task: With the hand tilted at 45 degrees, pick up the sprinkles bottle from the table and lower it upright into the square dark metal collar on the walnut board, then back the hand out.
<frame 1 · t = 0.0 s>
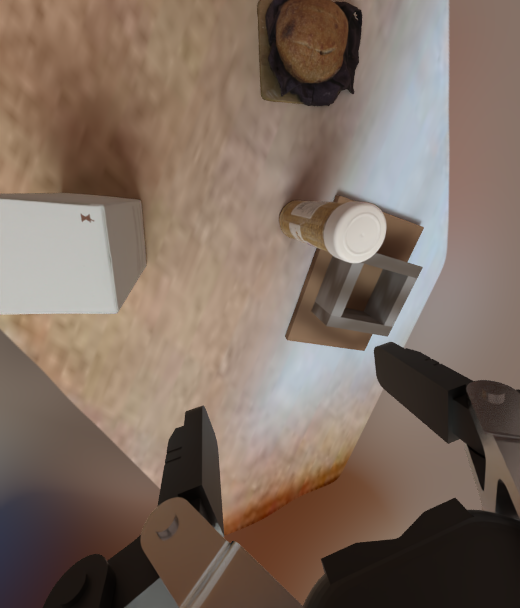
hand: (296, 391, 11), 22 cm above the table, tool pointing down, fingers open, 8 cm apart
collar board: (350, 282, 36), on the table
supplement box: (108, 232, 27), on the table
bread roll: (306, 58, 26), on the table
sprinkles bottle: (295, 219, 31), on the table
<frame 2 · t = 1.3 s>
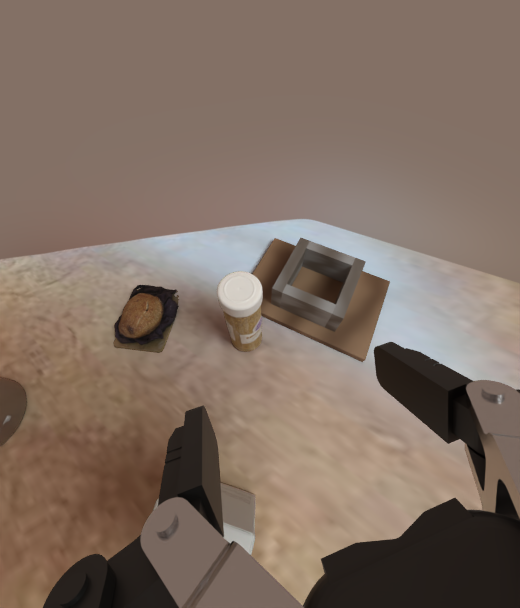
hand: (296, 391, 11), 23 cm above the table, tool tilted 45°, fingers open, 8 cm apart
collar board: (313, 294, 40), on the table
supplement box: (215, 523, 27), on the table
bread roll: (150, 319, 39), on the table
sprinkles bottle: (246, 337, 37), on the table
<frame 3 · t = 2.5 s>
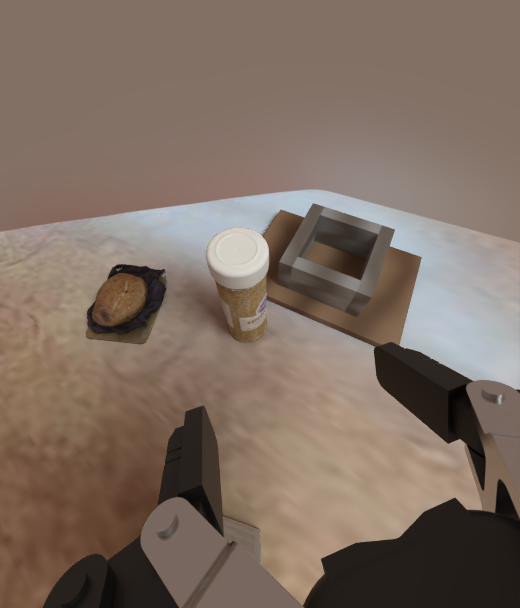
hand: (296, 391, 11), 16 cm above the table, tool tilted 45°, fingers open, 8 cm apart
collar board: (328, 273, 33), on the table
supplement box: (207, 570, 20), on the table
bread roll: (132, 304, 32), on the table
sprinkles bottle: (247, 325, 30), on the table
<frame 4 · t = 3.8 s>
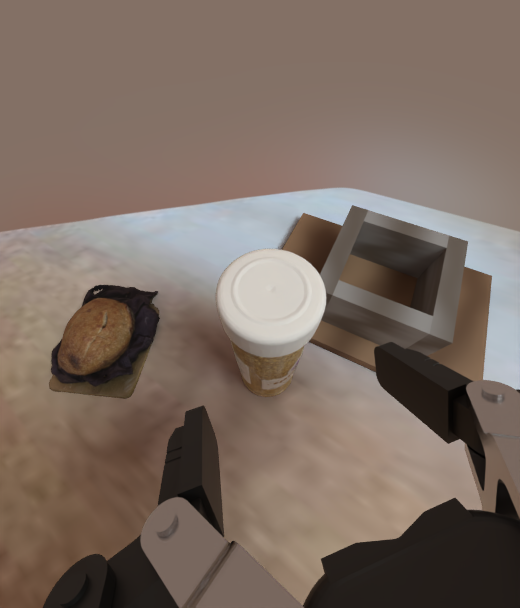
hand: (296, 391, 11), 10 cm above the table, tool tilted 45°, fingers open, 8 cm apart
collar board: (369, 297, 25), on the table
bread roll: (115, 339, 24), on the table
sprinkles bottle: (266, 370, 22), on the table
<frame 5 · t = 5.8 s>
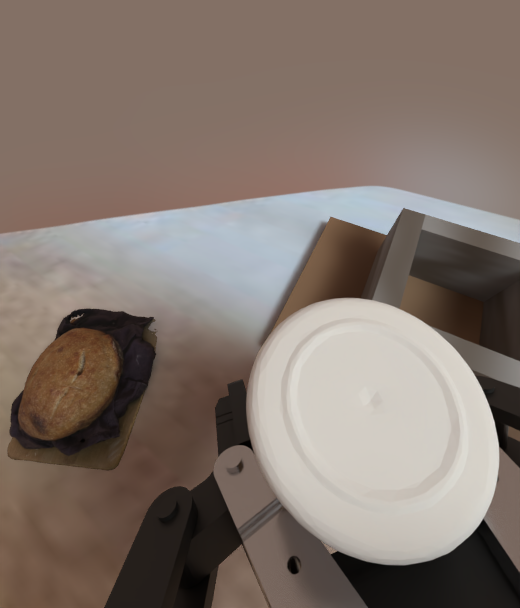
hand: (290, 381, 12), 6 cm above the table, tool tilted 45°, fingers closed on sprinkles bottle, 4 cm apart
collar board: (420, 326, 20), on the table
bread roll: (99, 381, 19), on the table
sprinkles bottle: (292, 428, 16), on the table, touching gripper
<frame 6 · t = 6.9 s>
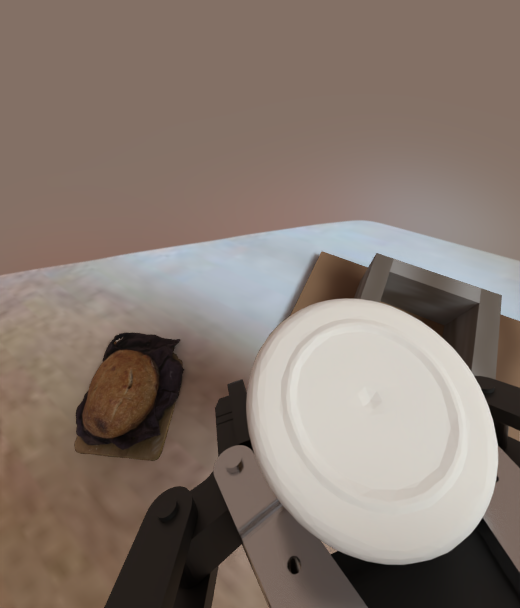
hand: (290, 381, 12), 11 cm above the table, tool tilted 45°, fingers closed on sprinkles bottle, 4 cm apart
collar board: (393, 345, 24), on the table
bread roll: (138, 391, 24), on the table
sprinkles bottle: (292, 428, 17), point 5 cm above the table, touching gripper
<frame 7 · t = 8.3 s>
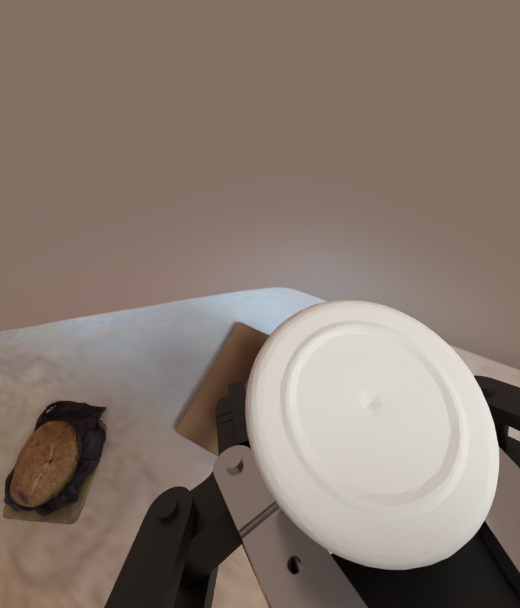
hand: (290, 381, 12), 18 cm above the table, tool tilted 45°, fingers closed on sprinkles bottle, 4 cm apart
collar board: (288, 412, 28), on the table
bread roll: (66, 457, 27), on the table
sprinkles bottle: (292, 429, 16), point 12 cm above the table, touching gripper
when the fingers open (8 cm above the table, at t = 11.2 s): sprinkles bottle drops 1 cm, resting on collar board.
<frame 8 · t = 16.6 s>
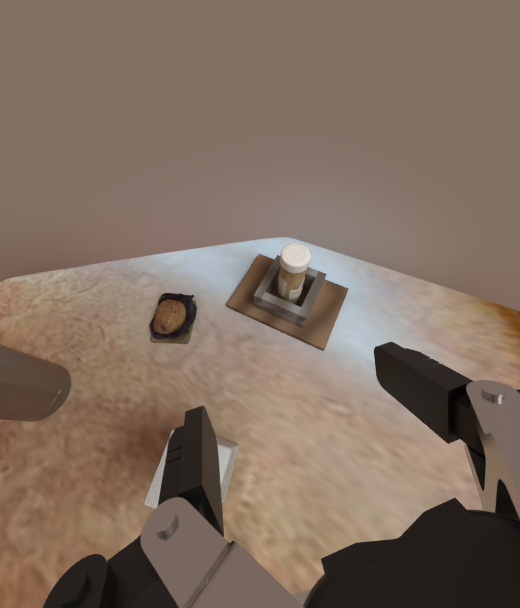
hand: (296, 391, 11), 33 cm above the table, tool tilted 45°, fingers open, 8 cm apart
collar board: (288, 299, 51), on the table
supplement box: (210, 464, 38), on the table
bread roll: (175, 319, 50), on the table
sprinkles bottle: (288, 298, 50), point 1 cm above the table, touching collar board
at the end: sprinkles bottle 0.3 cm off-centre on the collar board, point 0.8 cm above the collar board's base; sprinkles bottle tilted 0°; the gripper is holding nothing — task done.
